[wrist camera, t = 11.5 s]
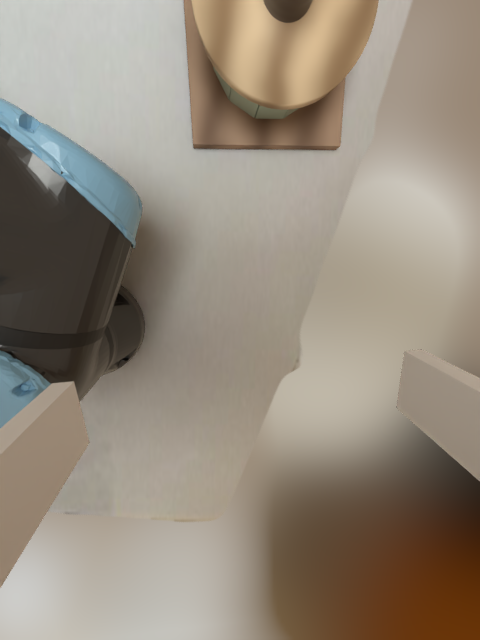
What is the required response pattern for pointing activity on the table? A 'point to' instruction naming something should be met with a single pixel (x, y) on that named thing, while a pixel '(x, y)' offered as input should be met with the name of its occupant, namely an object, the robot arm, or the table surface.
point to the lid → (284, 45)
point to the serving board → (242, 129)
